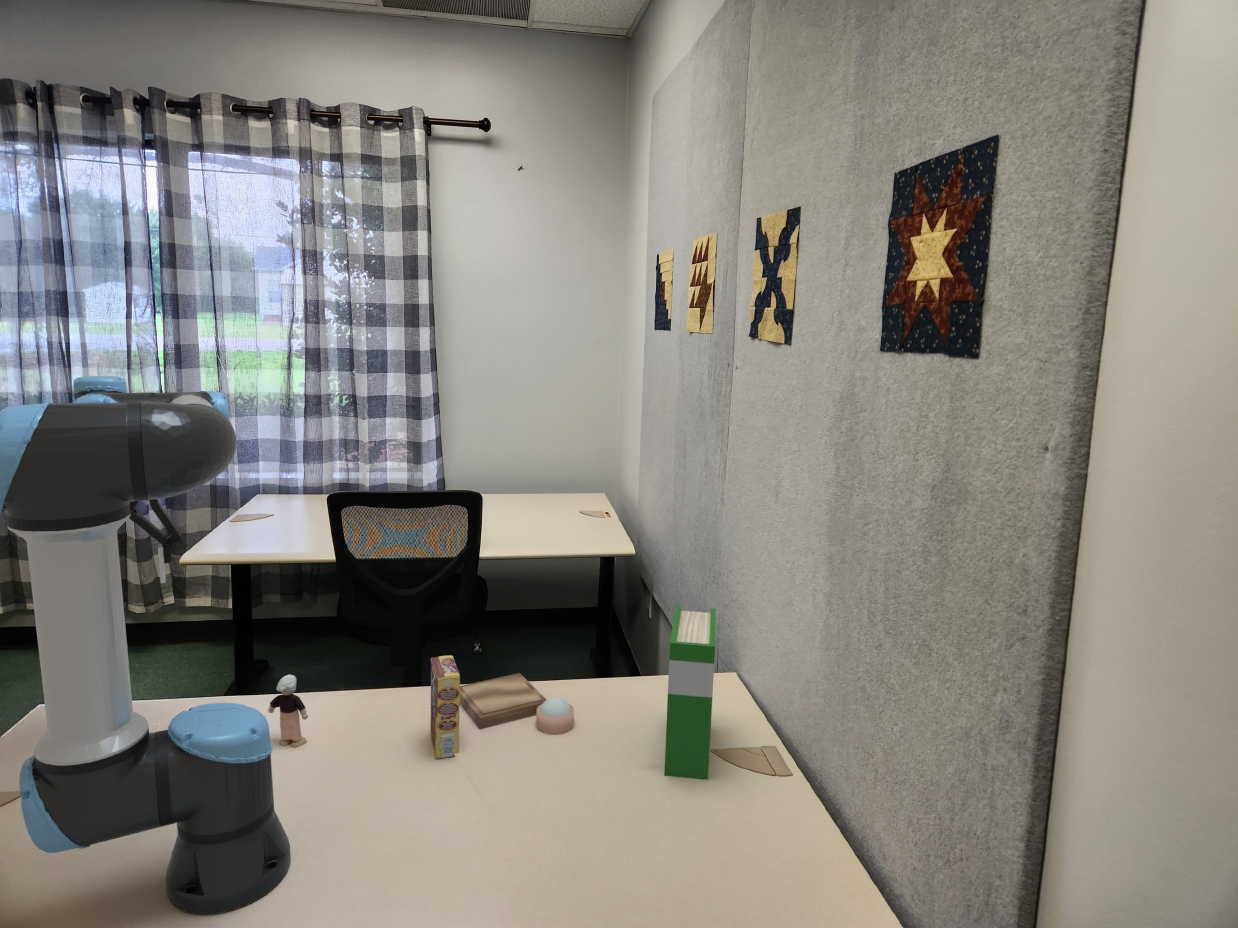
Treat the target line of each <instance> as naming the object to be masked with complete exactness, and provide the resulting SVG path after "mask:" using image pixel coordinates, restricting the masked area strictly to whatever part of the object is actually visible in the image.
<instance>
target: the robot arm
mask: <svg viewBox="0 0 1238 928" xmlns="http://www.w3.org/2000/svg"><path fill="white" fill-rule="evenodd" d="M72 382H73V384H72V385H73V392H72V397H73V399H74V400H73V401H72V402H67V403H66V402H55V403H54V402H43V403H34V404H22V405H21V404H20V405H12V406H8V407H5V408H2V409H0V514H1V513H3V512H4V513H5V519H6V526H7V529H8V530H9V531H10V532H12V533H14V534H15V535H18V536H19V537H21V538H22V539H24V541H25V543H26V550H27V556H28V558H27V559H28V566H29V577H30V582H31V583H30V584H31V585H30V586H31V594H32V600H33V601H32V602H33V611H34V612H33V613H34V620H35V630H36V636H37V637H36V638H37V647H38V654H39V665H40V673H41V683H42V692H43V698H44V699H43V701H44V708H45V709H44V710H45V718H46V725H47V726H46V727H47V731H46V732H45V733H44V734H43V735H42V736H41V737H40V738H39V739H38V740H37V741H36V743H35V745H34V747H33V755H32V756H31V757H28V758H27V759H25V760H24V761H23V763H22V765H21V768H20V772H19V785H18V786H19V794H20V796H21V797H20V798H21V799H20V800H21V801H20V805H21V812H22V816H23V821H24V824H25V827H26V830H27V833H28V836H29V838H30V839H31V841H32V843H33V844H34V846H35V847H36V848H37V849H39V850H41V851H43V852H45V853H47V854H55V853H61V852H66V851H70V850H75V849H86V848H89V847H91V846H92V845H96V844H99V843H104V842H109V841H111V840H115V839H118V838H123V837H126V836H132V835H135V834H139V833H143V832H148V831H150V830H154V829H157V828H162V827H164V826H169V825H173V824H176V827H177V828H176V829H177V835H176V839H175V842H174V846H173V849H172V852H171V856H170V859H169V861H168V862H169V863H168V866H167V869H166V873H165V887H166V896H167V899H168V901H169V903H170V904H171V905H172V906H174V908H176V909H178V910H179V911H181V912H184V913H189V914H195V915H211V914H219V913H224V912H228V911H229V912H230V911H233V910H235V909H239V908H241V907H244V906H247V905H249V904H251V903H253V902H254V901H257V900H258V899H260V898H262V897H264V896H265V895H267V894H268V893H269V892H270V891H272V890H273V889H275V887H277V886H278V884H280V883H281V882H282V880H283V879H285V876H286V875H287V873H288V872H289V869H290V866H291V863H292V862H291V854H292V853H291V844H290V840H289V837H288V835H287V833H286V831H285V830H284V827H283V825H282V823H281V821H280V818H279V817H278V815H277V812H276V811H275V801H274V785H273V782H274V781H273V769H272V752H273V742H272V740H271V735H270V726H269V722H268V720H267V718H266V717H265V715H264V714H263V713H262V712H261V711H260V710H257V709H256V708H255V707H251V706H247V705H245V704H240V703H233V702H213V703H205V704H200V705H196V706H192V707H190V708H188V710H182V711H181V712H179V713H177V714H176V715H175V716H173V718H172V719H171V721H170V723H169V724H168V726H167V729H164V730H159V731H154V732H150V728H149V727H150V724H149V722H148V720H147V718H146V717H144V715H141V714H139V713H137V712H135V711H134V709H133V708H134V706H133V697H132V687H131V686H132V683H131V675H130V663H129V654H128V653H129V651H128V642H127V631H126V621H125V620H126V619H125V607H124V596H123V595H124V594H123V586H122V576H121V575H122V574H121V565H120V564H121V562H120V551H119V541H118V529H120V528H121V527H122V525H123V524H124V523H125V522H126V521H128V519H129V520H131V521H132V522H133V523H135V524H136V525H137V526H138V527H140V528H141V529H142V530H143V531H145V532H146V533H147V534H148V535H150V536H151V537H152V538H153V539H155V540H156V541H157V542H158V545H157V552H158V553H157V554H158V565H159V566H158V567H159V577H160V578H159V580H160V584H166V583H167V581H166V579H167V578H166V567H165V564H171V563H172V548H171V547H172V545H174V544H175V543H178V542H181V541H182V534H181V532H180V531H179V528H177V526H176V525H175V523H174V522H173V521H172V519H171V518H170V516H169V515H168V513H167V512H166V511H165V509H164V507H162V505H161V504H160V502H159V500H162V499H166V498H172V497H175V496H178V495H182V494H185V493H189V492H191V491H193V490H195V489H198V488H199V487H202V486H203V485H205V484H207V483H208V482H210V481H212V480H213V479H215V478H216V477H218V476H220V475H221V474H222V473H223V472H224V471H225V470H226V469H227V468H228V467H229V465H230V464H231V463H232V461H233V459H234V456H235V454H236V452H237V451H236V450H237V448H238V446H237V445H238V444H237V443H238V441H237V434H236V432H235V429H234V426H233V424H232V423H231V422H230V415H229V412H230V411H229V405H228V404H229V403H228V397H227V395H226V394H225V393H224V392H221V391H207V390H200V391H181V392H180V391H176V392H175V391H174V392H173V391H172V392H171V391H170V392H129V391H128V387H127V382H126V379H125V378H124V377H121V376H115V375H88V376H86V375H85V376H79V377H76V378H75V379H73V381H72ZM139 502H143V504H145V505H146V506H150V509H151V510H152V511H153V513H154V514H155V516H156V517H157V518H158V520H159V522H161V524H162V525H163V527H164V528H165V529H166V531H167V532H168V534H169V536H168V535H166V534H165V533H164V532H163V531H162V530H160V528H158V527H157V526H156V525H155V524H153V523H152V522H151V521H149V520H148V519H147V518H146V517H145V516H144V515H142V514H141V512H140V511H138V510H137V509H136V507H137V505H138V504H139Z"/></svg>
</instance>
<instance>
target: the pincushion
mask: <svg viewBox="0 0 1238 928" xmlns="http://www.w3.org/2000/svg"><path fill="white" fill-rule="evenodd" d="M574 712H575V709H574V706H572V704H570V703H568V702H567V701H566V700H565V699H563V698H561V697H556V696H554V697H549V698H548V699H547V700H546V701H545V702H544V703H543V704H541V705H539V706H538V708H537V715H536V723H535V724H536V728H537V729H538V730H539V731H540V732H542V733H544V734H547V735H561V734H565V733H568V732H570V731H571V730H572V729H573V728H574V719H575V716H574V714H575V713H574Z"/></svg>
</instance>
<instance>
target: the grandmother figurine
mask: <svg viewBox="0 0 1238 928" xmlns="http://www.w3.org/2000/svg"><path fill="white" fill-rule="evenodd" d="M296 689H297V677H296V676H295V675H293V674H287V675H284V676H283V677H282V678H280V680H279V681H278V683H277V686H276V691H277V692H280V693H281V694H279V695H277V696H275V697H274V698H272V700H271V701H270V702H269V708H268V709H267V712H268V713H270V714H273V713H274V712H275V709H277V708H279V712H280V713H279V714H280V715H279V727H280V734H281V735H280V736H281V740H280V742H279V745H280V746H287V745H289V744H290V746H291V747H293V748H295V747H296V748H297V747H300V746H302V745H305V744H306V743H307V741H308V740H307V738H306V737H305V736H302V730H301V723H300V722H301V721H300V720H301V719H302V720H307V719H308V718H309V714H308V713H307V709H306V706H305V704H304V703H303V701H302V699H301V697H300V696H298V695H296V694H294V693H295V692H296ZM300 716H301V719H300Z"/></svg>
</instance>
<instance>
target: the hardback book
mask: <svg viewBox="0 0 1238 928" xmlns="http://www.w3.org/2000/svg"><path fill="white" fill-rule="evenodd" d="M716 611H717V609H716V608H715V607H714V608H712V607H711V608H710V612H704V611H691V610H689V611H688V610H682V606H681V605H676V606H675V610H674V617H673V622H672V627H671V628H672V629H671V634H670V635H671V636H670V640H669V641H670V642H669V657H668V659H669V661H668V680H667V681H668V683H667V685H668V686H667V700H666V701H667V702H666V703H667V704H666V706H667V707H666V726H665V729H666V730H665V748H664V751H665V752H664V753H665V754H664V777H665V776H666V777H673V778H674V777H675V778H676V777H677V778H684V779H695V780H701V781H703V780H704V781H708V780H709V765H710V764H709V763H710V746H711V729H712V711H713V694H714V693H713V692H714V675H715V656H716V654H715V653H716V625H717V624H716V623H717V619H716V617H717V612H716Z"/></svg>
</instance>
